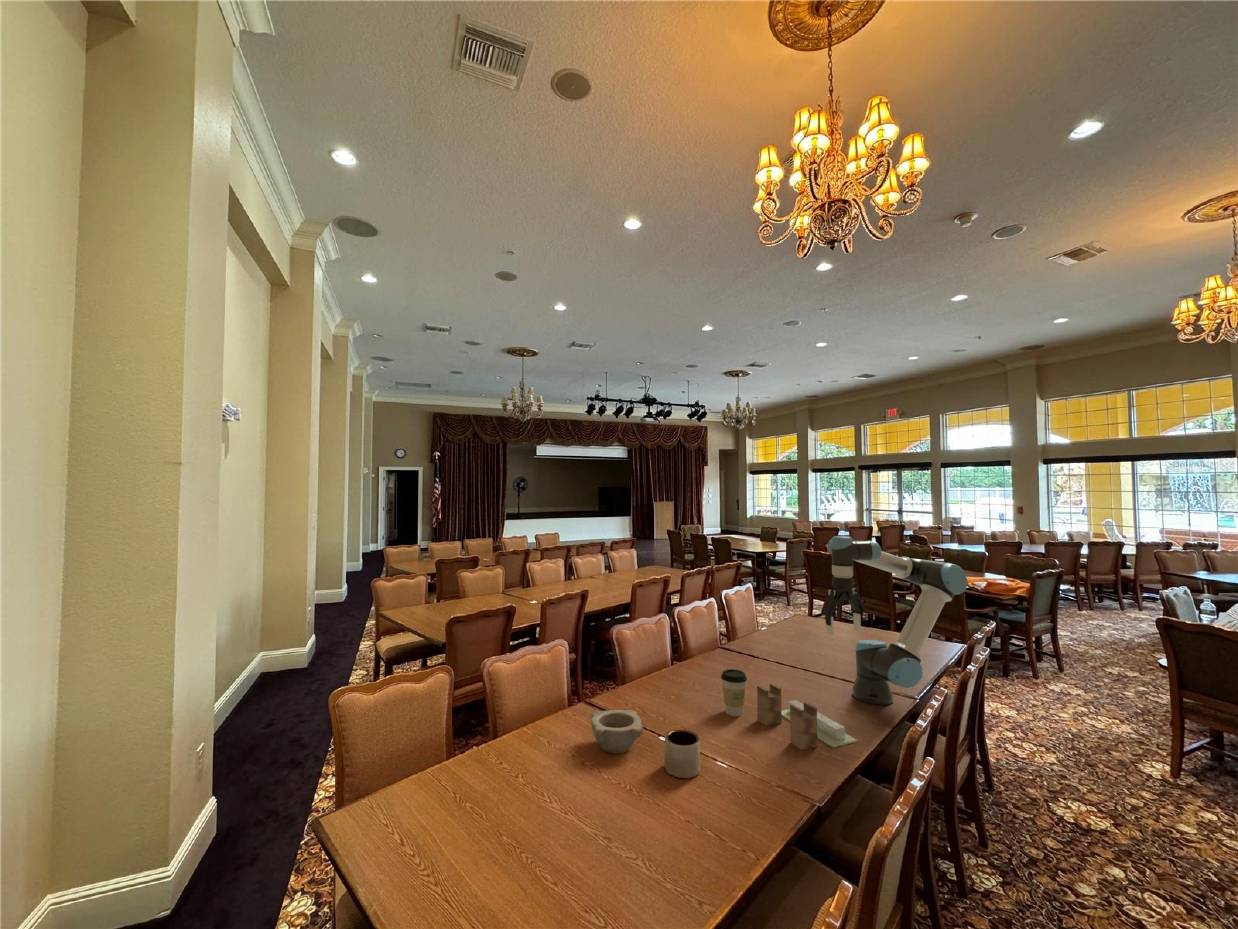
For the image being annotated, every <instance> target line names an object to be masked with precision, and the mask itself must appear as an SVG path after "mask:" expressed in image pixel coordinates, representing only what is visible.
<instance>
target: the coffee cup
mask: <svg viewBox="0 0 1238 929" xmlns="http://www.w3.org/2000/svg"><path fill="white" fill-rule="evenodd" d="M720 678H721V680H722V681H721V682H722V691H723V698H724V699H723V700H724V705H725V706H724V707H725V712H726V714H727V715H729V716H731V717H740V716H742V715H743V711H744V705H745V704H744V703H745V694H746V682H747V681H748V678H747V676H746V673H745V672H744V671H742V670H740V669H733V668H730V669H724V670H722V673H721V676H720Z"/></svg>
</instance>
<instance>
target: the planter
mask: <svg viewBox="0 0 1238 929" xmlns="http://www.w3.org/2000/svg"><path fill="white" fill-rule="evenodd" d="M700 738H701V737H700V736H699V735H698V734H697V733H695V731H694V732H693V731H692V730H687V729H673V730H669V731H668V732H666V733H665V735H664V769H665V771H666V773H667V774H668V775H670V776H672V777H674V778H677V777H678V778H677V779H682V778H688V779H692V778H694V777H696V776H697V775H698V774H700V772H701V739H700Z"/></svg>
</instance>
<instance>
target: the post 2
mask: <svg viewBox="0 0 1238 929" xmlns="http://www.w3.org/2000/svg"><path fill="white" fill-rule="evenodd" d="M803 704H804V710H801V709H800V708H798V707H796V706H795V705H790V721H789V723H790V724H789V725H790V726H789V727H790V729H789V730H790V743H791V745H792V746H794V747H796V748H797V749H799V750H800V751H803V750H806V749H811V748H816V747H818V741H819V739H818V738H817V712H818V708H817V707H816V706H815V705H813V704H810V703H809V702H807V701H806V702H803Z"/></svg>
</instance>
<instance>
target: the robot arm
mask: <svg viewBox="0 0 1238 929" xmlns="http://www.w3.org/2000/svg"><path fill="white" fill-rule="evenodd" d="M881 548H882V547H881V545H880V544H879V543H878V542H877V541H874V540H866V541H865V540H856V539H853V538H852V536H845V535H843V536H842V535H834V536H833V537H831V539H830V540H829V541H828V543H827V550H828V552H829V553H830V554H831V575H832V577H831V580H832V581H831V584H832V586H833V589H829V588H828V589H827V590H826V596H825V599H824V601H823V605H822V607H821V611H820V615H823V616H825V625H826V634H829V635H832V636H833V635H835V632H834V630H835V629H834V628H835V627H834V625H835V624H834V616H833V615H834V613H835V611H836V609H837V607H838V606H839V604H841V602H845V601H846V602H848V604H849V605H850V606H851V608H852V610H853V611H854V612H853V613H852V618H853V630H854V631H857V632H861V631H862V630H861V628H862V627H861V626H862V624H861V622H862V615H864V613H865V612H866V607H865V605H864V603H863V600H862V597H861V595H860V590H859V588H857V587H854V578H853V577H854V561H855V562H856V563H857V562H858V563H860V564H863V565H867V566H869V567H873V568H876V569H879V570H881V571H885V572H888V573H892V574H894V575H895V576H896V577H897V578H900V579H902V580H905V581H907V582H909V583H913V584H915V585H917V586H919V587H920V589H921V593H920V594H919V597H918V599H917V601H916V603H915V605H914V607H913V608H912V611H911V612H910V614H909V615H908V616H909V617H908V619H907V620H906V622H905V624H904V626H903V627H902V630H901V632H900V634H899V636H898V638H897V640H896V641H894V642H890V643H889V645H887V643H886V642H885V641H882V640H875V639H874V640H871V639H866V640H865V639H864V640H858V641H856V643H855V645H856V646H855V664H856V665H855V666H856V668H855V669H856V671H855V672H856V677H855V680H854V682H853V686H852V689H851V690H852V696H853V697H854V698H855V699H856V700H858V701H861V702H863V703H864V702H865V703H868V704H870V705H871V704H872V705H879V706H881V705H882V706H887V705H890V704H892V703H893V702H894V695H893V693H892V691H891V687H890V685H889V683H891V684H893V685H894V686H898V687H900V688H903V689H904V688H905V689H909V688H913V687H915V686H917V685H918V684H919V683H920V682H921V680H922V678H923V673H924V672H923V667H922V664H921V662H922V658H921V655H920V654H921V651H922V650H923V648H924V646H925V644H926V642H927V640H928V638H929V636H930V634H931V631H932V629H933V628H934V626H935V624H936V622H937V620H938V618H939V616H940V614H941V613H942V612H941V611H943V610H942V609H943V608H944V606H945V605H946V603H948V602H952V601H953V599H954V597H955V595H962V594H963V593H964V592H965V591H966V590H967V587H968V578H967V574H966V573H965V571H964V569H963V568H962V567H960V566H959V565H957V564H954V563H951V562H943V561H942V562H941V561H935V560H929V559H919V558H914V557H913V558H912V557H908V556H897V555H894V554H891V553H888V552H886V551H882V550H881Z"/></svg>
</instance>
